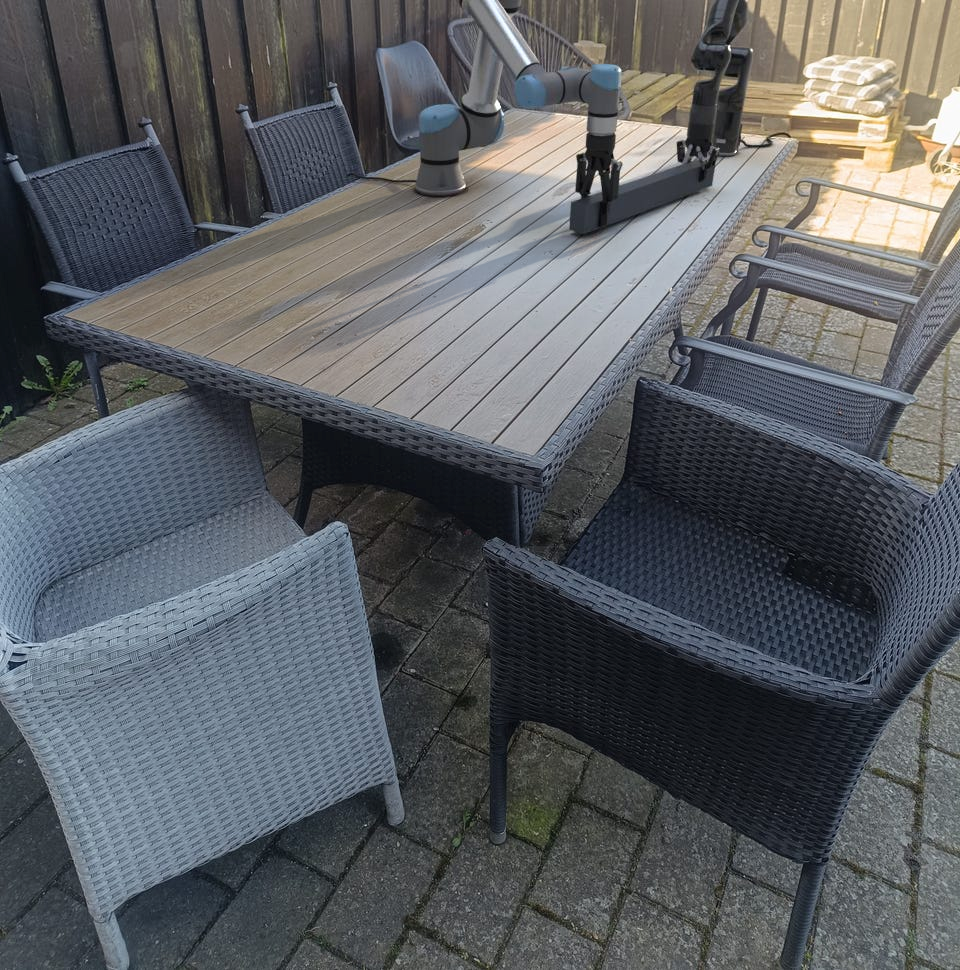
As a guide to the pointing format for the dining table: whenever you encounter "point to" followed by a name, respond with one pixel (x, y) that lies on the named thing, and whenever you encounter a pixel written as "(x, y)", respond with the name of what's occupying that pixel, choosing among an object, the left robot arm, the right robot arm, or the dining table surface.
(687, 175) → the beam
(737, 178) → the dining table surface
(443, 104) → the left robot arm
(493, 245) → the dining table surface
